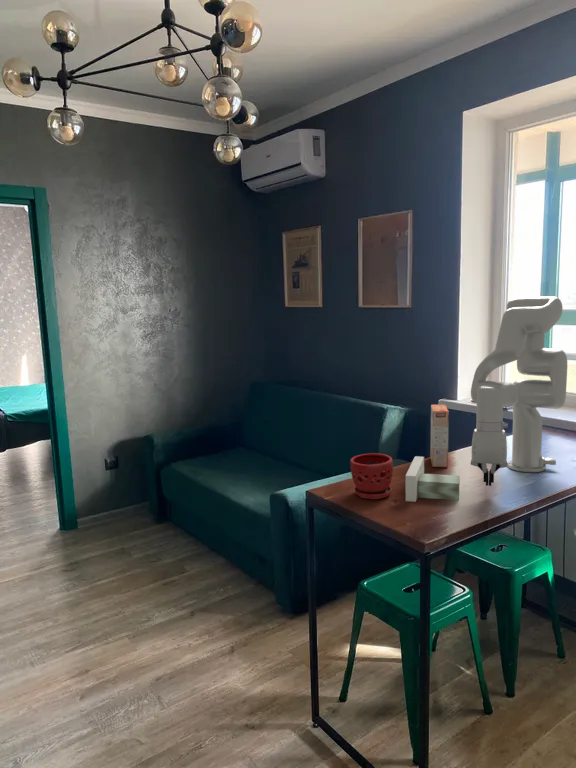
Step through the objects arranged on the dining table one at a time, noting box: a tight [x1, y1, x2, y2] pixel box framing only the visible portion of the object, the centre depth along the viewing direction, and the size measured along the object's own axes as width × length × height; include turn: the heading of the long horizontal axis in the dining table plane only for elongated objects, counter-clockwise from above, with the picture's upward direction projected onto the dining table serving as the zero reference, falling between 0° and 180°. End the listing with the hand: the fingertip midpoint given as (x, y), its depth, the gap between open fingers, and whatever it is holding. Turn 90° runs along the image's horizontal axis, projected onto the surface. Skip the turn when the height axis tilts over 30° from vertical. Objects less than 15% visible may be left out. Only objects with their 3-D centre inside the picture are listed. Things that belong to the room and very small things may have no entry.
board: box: [405, 455, 425, 503], centre depth 182 cm, size 3×22×8 cm, turn 160°
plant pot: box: [349, 452, 394, 500], centre depth 179 cm, size 13×13×12 cm
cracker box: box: [429, 404, 450, 468], centre depth 211 cm, size 14×6×21 cm, turn 168°
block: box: [417, 473, 461, 501], centre depth 178 cm, size 12×8×6 cm, turn 72°
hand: (488, 484), depth 175 cm, fingers closed
